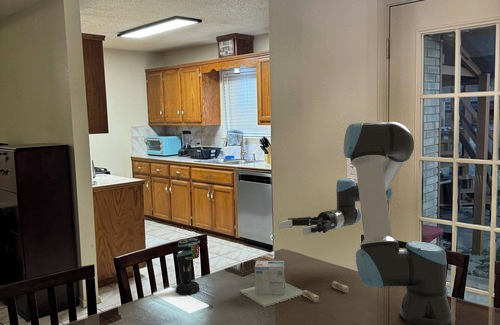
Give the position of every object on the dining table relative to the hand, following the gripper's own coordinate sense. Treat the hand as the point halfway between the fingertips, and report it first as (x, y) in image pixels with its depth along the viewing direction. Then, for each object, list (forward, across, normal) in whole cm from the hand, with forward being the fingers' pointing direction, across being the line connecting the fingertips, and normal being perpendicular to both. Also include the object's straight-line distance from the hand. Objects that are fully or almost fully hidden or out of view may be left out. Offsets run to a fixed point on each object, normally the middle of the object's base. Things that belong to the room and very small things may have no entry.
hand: (290, 228), depth 168 cm
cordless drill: (+32, +22, -22) cm, 45 cm away
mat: (+10, 0, -22) cm, 25 cm away
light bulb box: (+11, 0, -22) cm, 24 cm away
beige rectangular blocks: (-4, -13, -23) cm, 27 cm away
